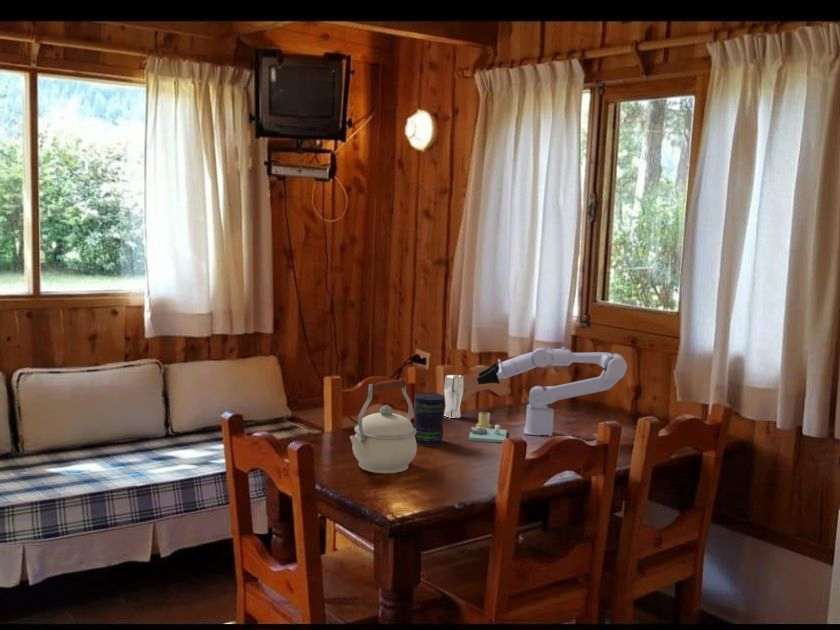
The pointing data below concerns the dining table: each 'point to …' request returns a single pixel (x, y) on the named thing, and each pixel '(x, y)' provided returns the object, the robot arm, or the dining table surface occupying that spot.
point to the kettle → (385, 435)
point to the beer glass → (453, 395)
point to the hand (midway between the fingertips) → (478, 379)
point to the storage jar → (429, 418)
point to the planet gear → (484, 420)
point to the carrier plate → (487, 434)
